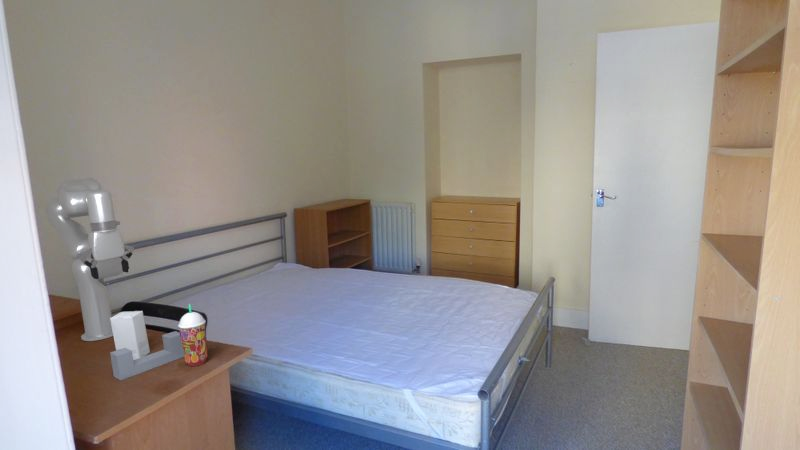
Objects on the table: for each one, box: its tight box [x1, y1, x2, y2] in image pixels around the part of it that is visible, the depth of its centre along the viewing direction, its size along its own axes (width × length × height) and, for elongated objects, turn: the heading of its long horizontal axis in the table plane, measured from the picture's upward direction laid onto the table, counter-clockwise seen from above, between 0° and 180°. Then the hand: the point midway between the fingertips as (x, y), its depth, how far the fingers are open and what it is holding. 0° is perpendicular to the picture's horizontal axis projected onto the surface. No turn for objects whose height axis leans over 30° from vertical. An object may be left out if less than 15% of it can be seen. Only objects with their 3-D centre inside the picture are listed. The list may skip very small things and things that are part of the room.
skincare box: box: [110, 310, 151, 360], centre depth 173 cm, size 8×7×16 cm
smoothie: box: [177, 303, 208, 367], centre depth 165 cm, size 8×8×20 cm
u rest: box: [109, 330, 185, 381], centre depth 165 cm, size 5×21×8 cm, turn 141°
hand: (111, 275), depth 175 cm, fingers open, 9 cm apart
